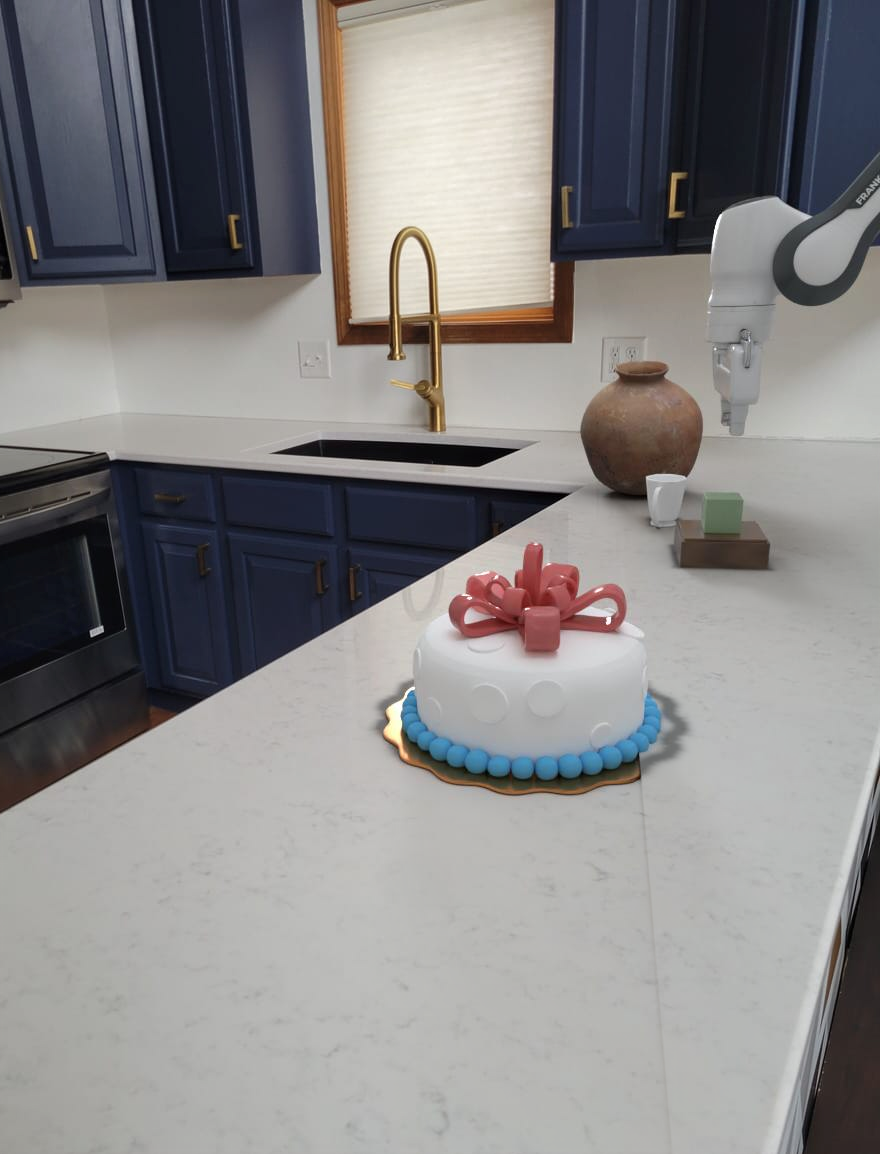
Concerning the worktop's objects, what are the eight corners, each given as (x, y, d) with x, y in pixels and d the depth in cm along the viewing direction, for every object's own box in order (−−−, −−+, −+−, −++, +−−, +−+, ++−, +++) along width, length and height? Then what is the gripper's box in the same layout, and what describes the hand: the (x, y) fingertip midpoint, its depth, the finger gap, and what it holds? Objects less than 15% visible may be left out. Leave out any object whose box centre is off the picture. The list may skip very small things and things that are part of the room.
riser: (754, 552, 147) (757, 520, 145) (766, 574, 136) (770, 540, 134) (673, 550, 149) (675, 519, 147) (679, 572, 138) (681, 538, 136)
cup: (688, 521, 166) (692, 475, 163) (673, 534, 158) (676, 486, 155) (648, 517, 169) (651, 472, 167) (631, 530, 161) (634, 483, 159)
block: (735, 525, 142) (738, 492, 140) (740, 534, 138) (743, 499, 136) (700, 525, 143) (703, 492, 141) (704, 533, 139) (707, 499, 137)
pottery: (654, 477, 203) (662, 355, 194) (722, 498, 182) (734, 362, 173) (558, 487, 196) (561, 361, 187) (616, 510, 175) (623, 369, 167)
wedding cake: (581, 653, 109) (587, 497, 103) (743, 757, 85) (764, 561, 78) (347, 693, 101) (338, 526, 94) (452, 822, 76) (450, 608, 70)
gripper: (777, 331, 121) (767, 441, 126) (752, 323, 139) (745, 420, 144) (724, 332, 122) (717, 442, 127) (707, 325, 141) (701, 420, 145)
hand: (731, 430), depth 136 cm, fingers open, 8 cm apart
